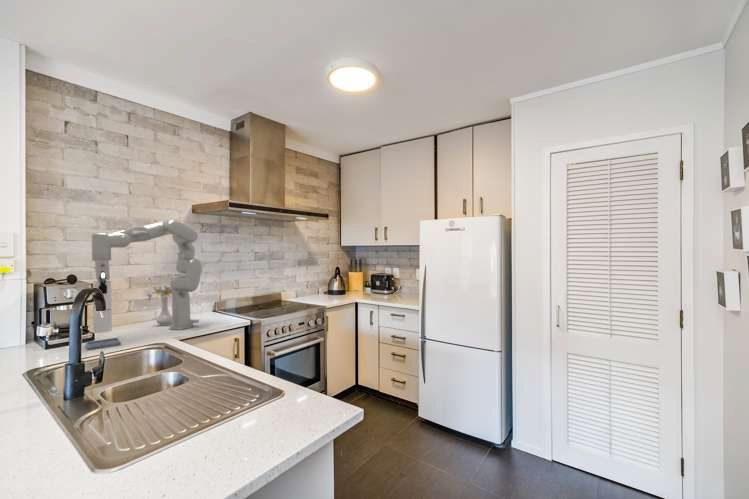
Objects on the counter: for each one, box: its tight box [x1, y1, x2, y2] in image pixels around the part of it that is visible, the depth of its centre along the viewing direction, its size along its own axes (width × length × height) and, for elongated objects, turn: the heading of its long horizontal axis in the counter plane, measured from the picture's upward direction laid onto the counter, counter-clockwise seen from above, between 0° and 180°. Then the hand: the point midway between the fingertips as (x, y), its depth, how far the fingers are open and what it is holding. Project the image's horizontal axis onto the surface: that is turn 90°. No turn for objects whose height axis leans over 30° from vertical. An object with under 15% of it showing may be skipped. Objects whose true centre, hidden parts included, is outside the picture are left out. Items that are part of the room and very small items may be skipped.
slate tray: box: [85, 337, 122, 351], centre depth 170 cm, size 13×13×2 cm
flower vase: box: [145, 285, 172, 327], centre depth 216 cm, size 13×18×25 cm
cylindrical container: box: [92, 280, 113, 334], centre depth 170 cm, size 7×7×25 cm
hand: (102, 292), depth 170 cm, fingers closed on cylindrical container, 7 cm apart
